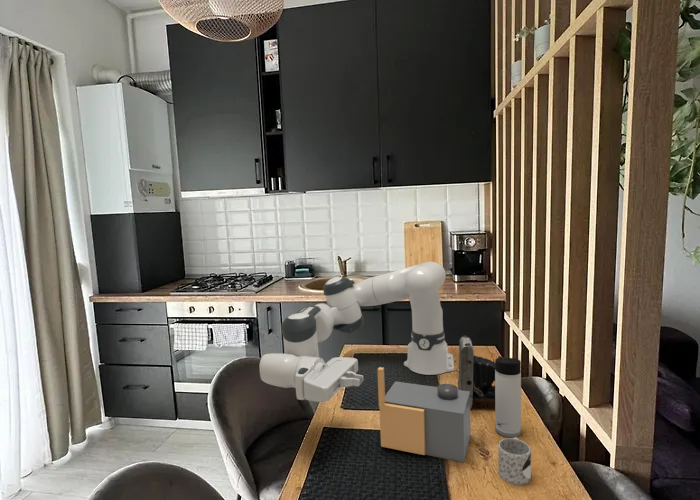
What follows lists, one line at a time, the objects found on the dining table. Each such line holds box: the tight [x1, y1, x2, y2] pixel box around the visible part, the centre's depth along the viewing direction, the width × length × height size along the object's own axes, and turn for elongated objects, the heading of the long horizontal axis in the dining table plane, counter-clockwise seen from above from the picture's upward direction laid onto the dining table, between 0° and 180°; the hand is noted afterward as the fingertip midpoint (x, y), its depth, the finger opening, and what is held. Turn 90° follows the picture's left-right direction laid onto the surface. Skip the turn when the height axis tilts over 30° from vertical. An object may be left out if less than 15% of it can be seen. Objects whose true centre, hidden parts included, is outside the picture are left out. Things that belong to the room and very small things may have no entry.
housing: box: [385, 381, 471, 463], centre depth 104 cm, size 12×20×14 cm, turn 67°
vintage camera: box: [457, 335, 504, 409], centre depth 122 cm, size 10×16×20 cm, turn 79°
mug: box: [497, 436, 532, 486], centre depth 92 cm, size 10×7×7 cm, turn 155°
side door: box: [376, 366, 426, 456], centre depth 99 cm, size 2×11×20 cm, turn 67°
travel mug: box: [494, 357, 522, 438], centre depth 106 cm, size 6×7×20 cm
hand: (361, 380), depth 103 cm, fingers closed
